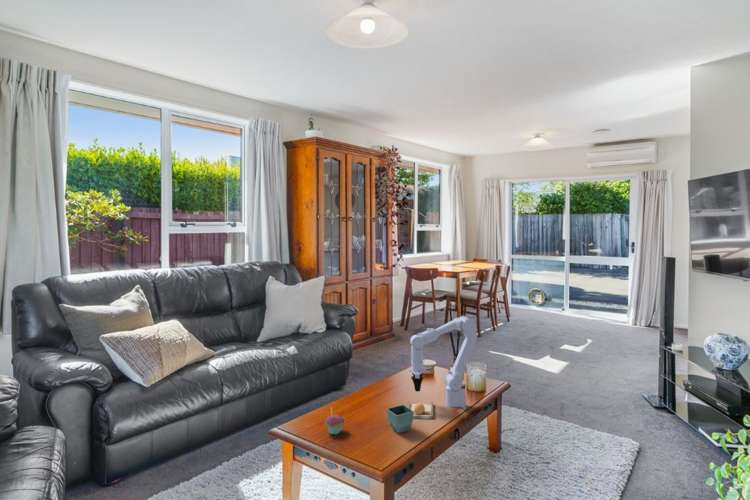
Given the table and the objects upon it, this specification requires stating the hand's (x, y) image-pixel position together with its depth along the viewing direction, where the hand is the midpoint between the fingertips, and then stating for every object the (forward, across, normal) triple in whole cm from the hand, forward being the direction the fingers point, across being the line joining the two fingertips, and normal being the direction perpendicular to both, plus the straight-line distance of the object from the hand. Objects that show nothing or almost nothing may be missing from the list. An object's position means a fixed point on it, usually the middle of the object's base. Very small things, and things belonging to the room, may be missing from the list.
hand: (417, 388), depth 218 cm
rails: (+10, +6, +1) cm, 12 cm away
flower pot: (+10, +24, -8) cm, 27 cm away
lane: (+10, +6, +1) cm, 12 cm away
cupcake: (+10, +28, -36) cm, 46 cm away
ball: (+9, +9, +1) cm, 13 cm away
